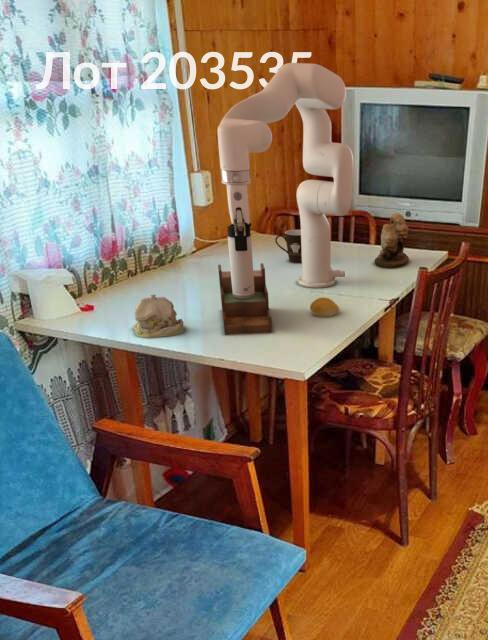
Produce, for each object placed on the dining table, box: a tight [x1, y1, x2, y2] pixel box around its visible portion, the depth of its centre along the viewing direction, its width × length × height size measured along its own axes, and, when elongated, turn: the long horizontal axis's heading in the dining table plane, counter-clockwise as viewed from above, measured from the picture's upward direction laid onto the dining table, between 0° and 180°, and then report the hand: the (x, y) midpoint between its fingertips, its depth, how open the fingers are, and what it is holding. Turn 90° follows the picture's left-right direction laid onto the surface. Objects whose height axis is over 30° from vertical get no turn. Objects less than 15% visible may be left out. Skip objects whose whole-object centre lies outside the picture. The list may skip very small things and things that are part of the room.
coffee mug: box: [274, 229, 302, 264], centre depth 267 cm, size 12×9×10 cm
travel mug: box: [226, 222, 255, 300], centre depth 205 cm, size 6×7×20 cm
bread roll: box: [309, 297, 340, 318], centre depth 220 cm, size 8×9×4 cm
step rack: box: [217, 262, 273, 336], centre depth 210 cm, size 13×21×14 cm, turn 11°
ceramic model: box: [132, 294, 185, 339], centre depth 203 cm, size 14×11×10 cm
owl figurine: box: [374, 212, 410, 269], centre depth 266 cm, size 18×12×17 cm, turn 163°
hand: (240, 246), depth 203 cm, fingers closed on travel mug, 6 cm apart
